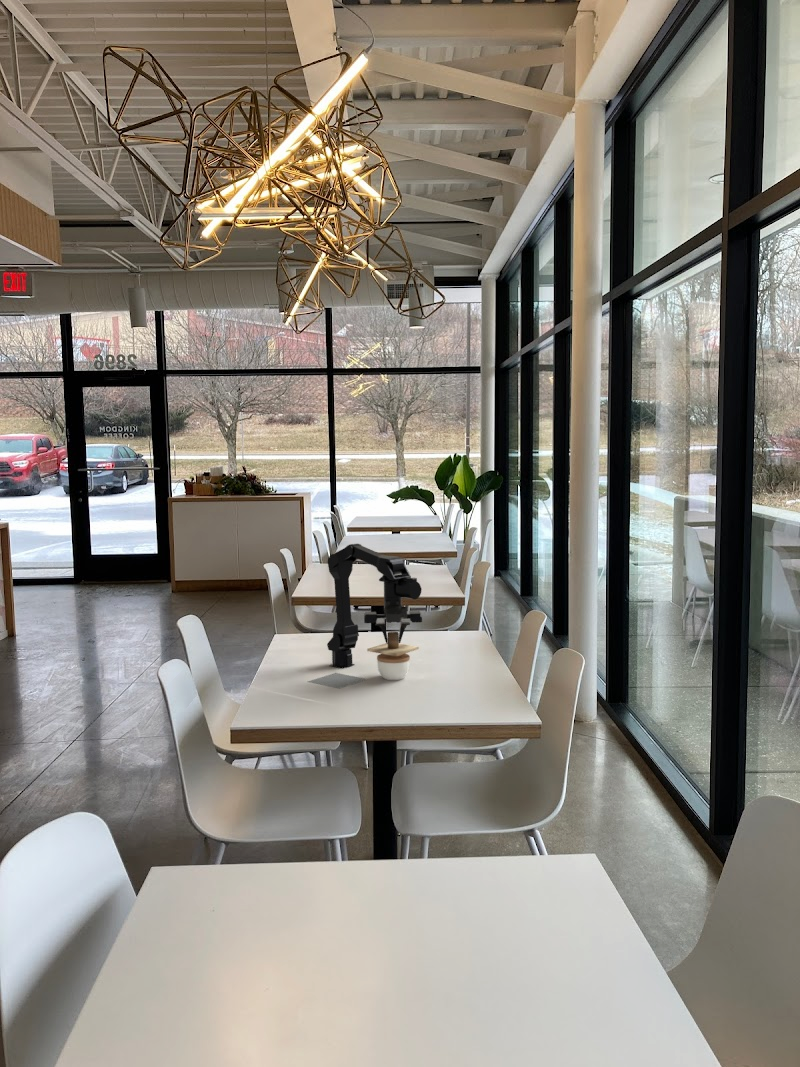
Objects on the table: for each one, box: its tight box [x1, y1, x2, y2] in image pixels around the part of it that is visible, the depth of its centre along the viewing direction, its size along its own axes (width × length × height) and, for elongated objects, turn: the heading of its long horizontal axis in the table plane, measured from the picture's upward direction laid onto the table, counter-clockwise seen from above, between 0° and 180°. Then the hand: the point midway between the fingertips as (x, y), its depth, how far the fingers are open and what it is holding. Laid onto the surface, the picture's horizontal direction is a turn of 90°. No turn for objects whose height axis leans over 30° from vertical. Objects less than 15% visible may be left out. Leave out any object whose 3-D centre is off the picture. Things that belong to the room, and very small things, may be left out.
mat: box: [307, 672, 367, 689], centre depth 290 cm, size 14×14×1 cm
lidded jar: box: [376, 653, 411, 681], centre depth 292 cm, size 11×11×9 cm
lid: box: [366, 631, 420, 656], centre depth 291 cm, size 12×12×6 cm
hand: (393, 643), depth 291 cm, fingers open, 4 cm apart
